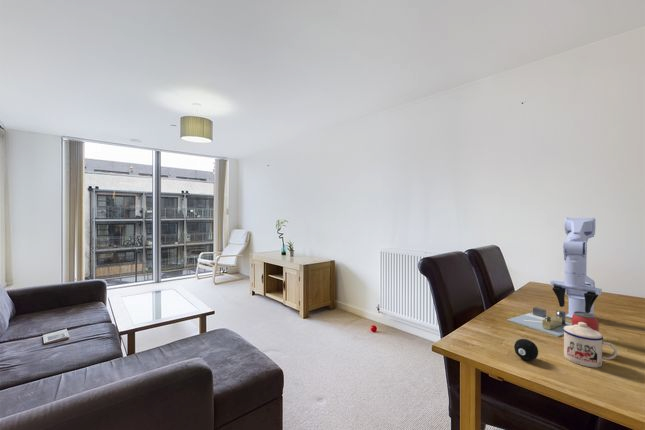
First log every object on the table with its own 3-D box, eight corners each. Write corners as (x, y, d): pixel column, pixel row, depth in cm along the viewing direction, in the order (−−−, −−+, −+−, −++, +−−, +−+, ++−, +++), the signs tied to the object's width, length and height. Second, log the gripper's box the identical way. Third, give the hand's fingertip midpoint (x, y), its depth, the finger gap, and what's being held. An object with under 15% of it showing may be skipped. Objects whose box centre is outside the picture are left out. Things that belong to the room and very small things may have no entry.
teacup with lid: (562, 360, 86) (562, 323, 86) (563, 350, 93) (563, 315, 93) (618, 376, 78) (618, 334, 78) (616, 363, 85) (616, 325, 85)
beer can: (604, 356, 90) (604, 318, 90) (580, 353, 91) (580, 316, 91) (589, 346, 96) (589, 311, 96) (566, 344, 97) (567, 310, 97)
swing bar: (554, 322, 115) (555, 312, 115) (562, 324, 113) (562, 314, 113) (542, 327, 110) (542, 316, 110) (549, 329, 108) (549, 318, 108)
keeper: (535, 313, 126) (535, 307, 126) (546, 316, 123) (546, 309, 123) (532, 314, 125) (533, 307, 125) (543, 317, 122) (543, 310, 122)
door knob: (557, 321, 117) (557, 309, 117) (568, 324, 114) (568, 312, 114) (553, 323, 115) (553, 311, 116) (564, 326, 112) (564, 313, 112)
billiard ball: (541, 360, 86) (541, 341, 87) (533, 366, 83) (533, 346, 83) (519, 352, 92) (519, 334, 92) (510, 357, 88) (510, 338, 88)
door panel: (530, 313, 128) (530, 312, 128) (581, 327, 112) (581, 326, 112) (507, 320, 119) (507, 319, 119) (558, 336, 103) (558, 335, 103)
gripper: (546, 270, 110) (546, 305, 110) (595, 277, 97) (595, 316, 97) (555, 269, 113) (555, 302, 113) (604, 276, 101) (603, 314, 100)
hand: (574, 309), depth 105 cm, fingers open, 7 cm apart
